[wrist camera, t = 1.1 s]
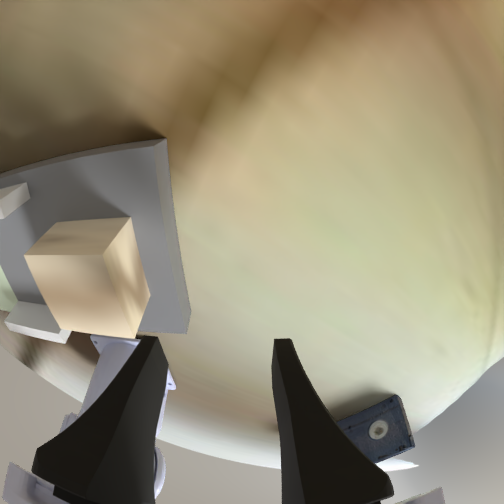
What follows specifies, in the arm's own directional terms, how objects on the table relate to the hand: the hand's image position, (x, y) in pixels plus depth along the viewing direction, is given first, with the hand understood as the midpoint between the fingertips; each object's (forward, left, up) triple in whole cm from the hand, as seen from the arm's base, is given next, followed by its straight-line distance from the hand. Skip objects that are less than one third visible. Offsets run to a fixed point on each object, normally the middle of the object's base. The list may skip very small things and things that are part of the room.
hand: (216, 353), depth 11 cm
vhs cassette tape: (-35, -18, -10) cm, 41 cm away
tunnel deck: (0, +22, -9) cm, 23 cm away
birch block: (0, +9, -7) cm, 11 cm away
